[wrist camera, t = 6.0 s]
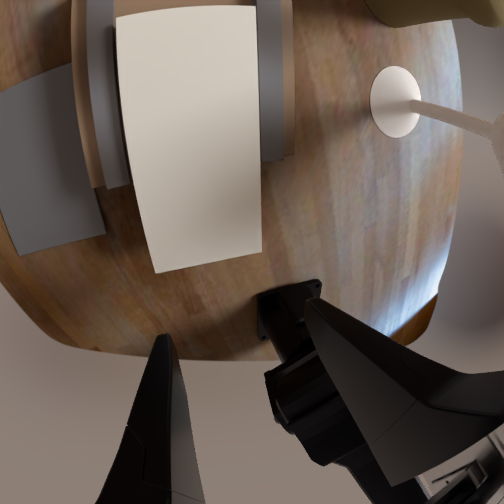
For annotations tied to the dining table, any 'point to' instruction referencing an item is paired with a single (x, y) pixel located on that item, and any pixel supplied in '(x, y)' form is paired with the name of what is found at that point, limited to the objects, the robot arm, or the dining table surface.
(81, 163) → the mat
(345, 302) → the dining table surface
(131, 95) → the cover plate
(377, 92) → the champagne flute
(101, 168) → the lid box
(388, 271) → the dining table surface
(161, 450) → the robot arm
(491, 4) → the cork
